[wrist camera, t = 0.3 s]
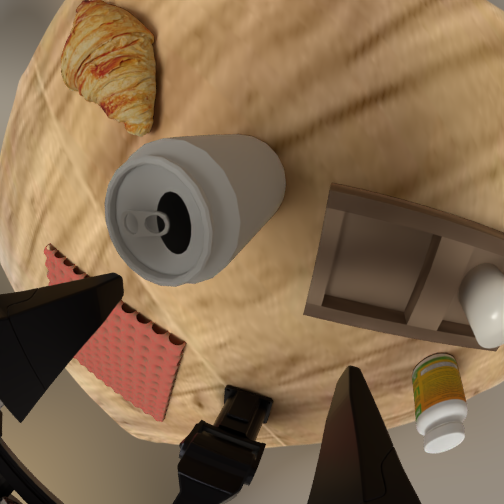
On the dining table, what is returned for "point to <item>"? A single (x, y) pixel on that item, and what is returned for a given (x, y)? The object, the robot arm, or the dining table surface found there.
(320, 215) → the dining table surface
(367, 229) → the caddy
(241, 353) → the dining table surface
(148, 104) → the croissant
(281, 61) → the dining table surface
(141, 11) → the dining table surface
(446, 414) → the supplement bottle
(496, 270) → the white rounded cylinder
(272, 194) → the can
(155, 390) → the red studded mat
